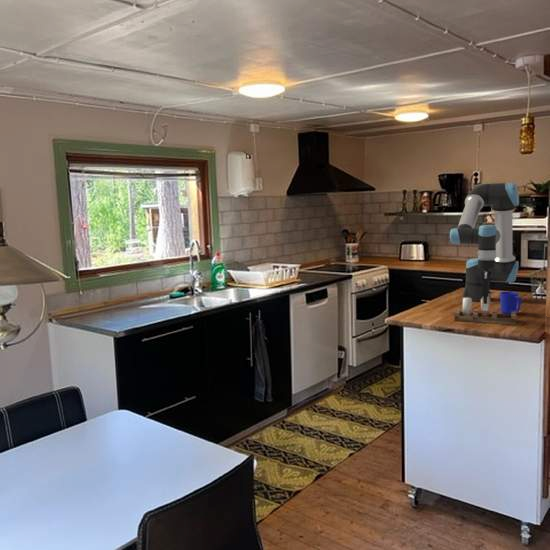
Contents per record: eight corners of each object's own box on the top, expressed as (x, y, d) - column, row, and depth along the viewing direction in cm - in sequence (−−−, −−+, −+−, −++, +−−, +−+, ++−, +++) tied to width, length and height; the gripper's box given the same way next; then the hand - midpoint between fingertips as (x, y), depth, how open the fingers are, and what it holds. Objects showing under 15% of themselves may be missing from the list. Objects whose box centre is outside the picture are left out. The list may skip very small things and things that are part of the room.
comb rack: (456, 316, 260) (456, 308, 260) (515, 320, 250) (516, 311, 249) (454, 320, 251) (454, 312, 250) (515, 324, 241) (516, 315, 240)
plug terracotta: (480, 316, 253) (481, 297, 251) (489, 317, 251) (490, 298, 249) (480, 319, 249) (480, 300, 247) (489, 319, 248) (490, 300, 246)
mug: (512, 317, 256) (513, 296, 255) (495, 312, 268) (496, 292, 267) (527, 315, 258) (527, 295, 257) (509, 311, 270) (510, 291, 269)
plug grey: (462, 316, 256) (462, 297, 255) (471, 316, 255) (472, 297, 253) (462, 317, 252) (462, 298, 251) (471, 318, 251) (471, 299, 250)
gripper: (479, 256, 257) (478, 304, 260) (476, 261, 239) (475, 312, 242) (496, 257, 254) (494, 305, 257) (494, 261, 236) (493, 313, 239)
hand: (485, 308), depth 250 cm, fingers open, 7 cm apart
